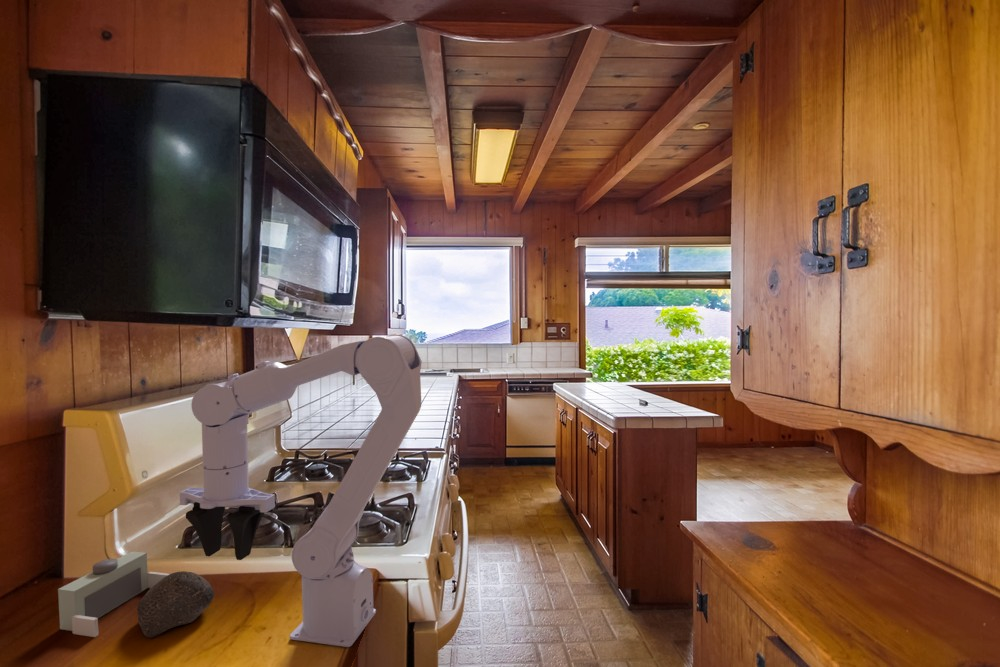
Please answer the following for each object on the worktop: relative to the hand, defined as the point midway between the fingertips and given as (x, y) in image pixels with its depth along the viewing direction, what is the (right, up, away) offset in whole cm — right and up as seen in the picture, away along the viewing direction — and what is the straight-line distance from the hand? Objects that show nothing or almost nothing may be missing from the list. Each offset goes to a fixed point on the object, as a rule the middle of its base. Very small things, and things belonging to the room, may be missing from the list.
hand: (228, 554), depth 69 cm
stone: (-9, -11, +2) cm, 14 cm away
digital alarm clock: (-20, -11, +5) cm, 23 cm away
